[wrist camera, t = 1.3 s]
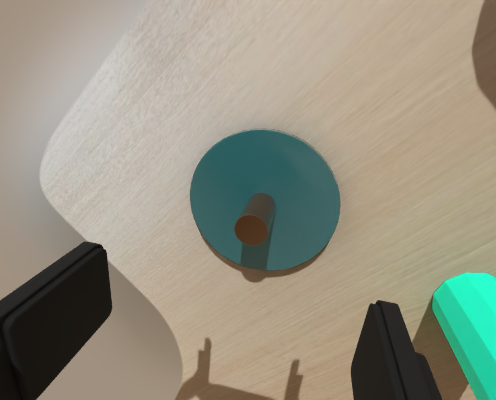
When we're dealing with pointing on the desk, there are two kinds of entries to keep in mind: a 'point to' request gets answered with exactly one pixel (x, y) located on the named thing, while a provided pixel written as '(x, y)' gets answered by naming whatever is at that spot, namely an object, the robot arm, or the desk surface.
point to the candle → (471, 327)
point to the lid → (265, 199)
